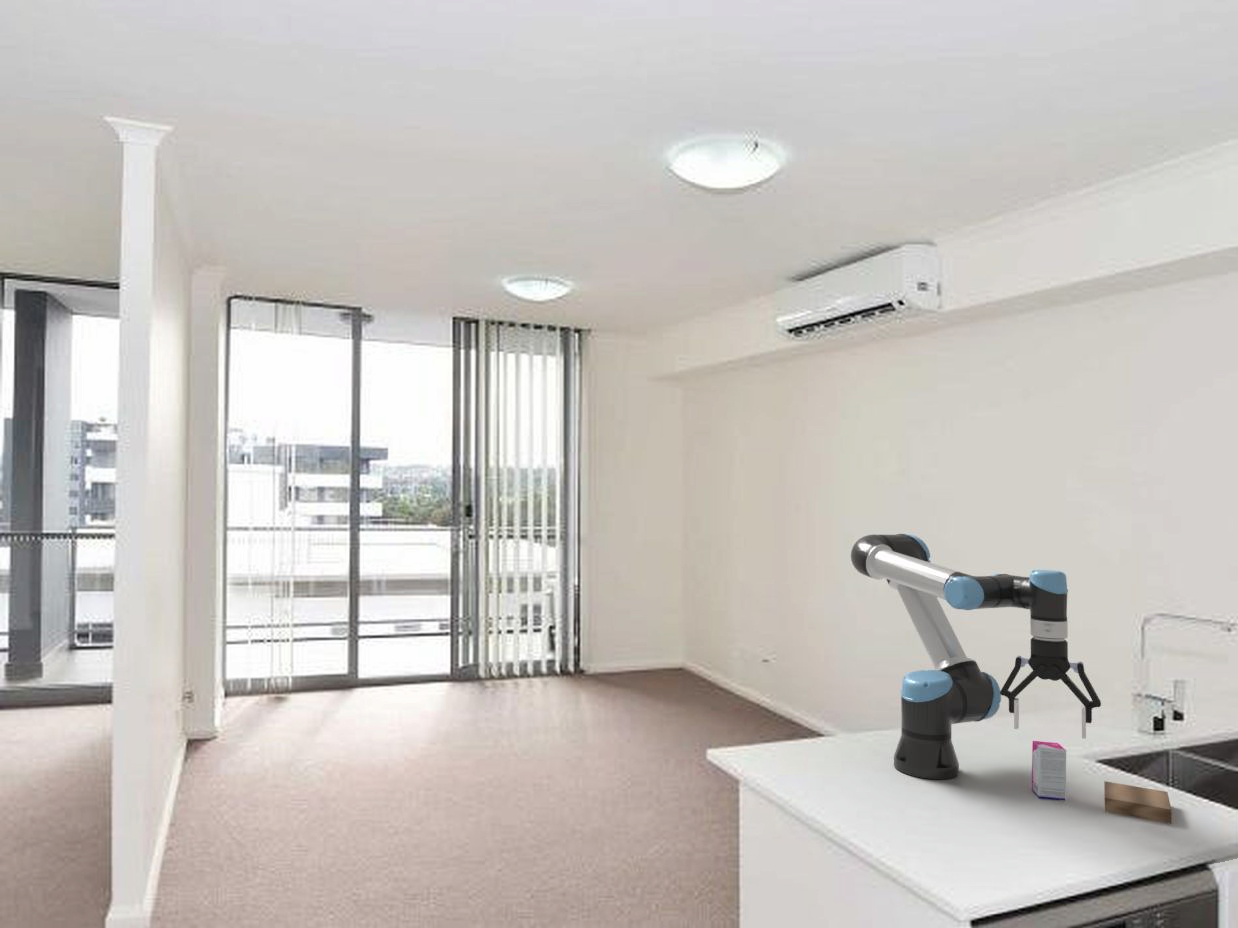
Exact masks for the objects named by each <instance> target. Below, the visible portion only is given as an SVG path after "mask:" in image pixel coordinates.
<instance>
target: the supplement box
mask: <svg viewBox="0 0 1238 928" xmlns="http://www.w3.org/2000/svg"><path fill="white" fill-rule="evenodd" d="M1031 753H1032V754H1031V758H1032V759H1031V787H1030V788H1031V792H1033V794H1034V795H1035V796H1036V797H1037V798H1038V799H1039V800H1050V801H1061V802H1065V801H1066V797H1067V794H1066V791H1067V790H1066V787H1067V786H1066V784H1067V781H1066V780H1067V750H1066V748H1064V747H1063V745H1061V744H1060V743H1057V742H1052V741H1051V742H1050V741H1049V742H1048V741H1041V740H1040V741H1039V740H1038V741H1037V740H1032V749H1031Z"/></svg>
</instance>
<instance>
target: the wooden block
mask: <svg viewBox="0 0 1238 928" xmlns="http://www.w3.org/2000/svg"><path fill="white" fill-rule="evenodd" d="M1103 792H1104V795H1103V796H1104V812H1105V813H1109V814H1115V815H1120V816H1125V817H1132V818H1136V819H1137V818H1138V819H1142V820H1147V821H1152V822H1153V821H1154V822H1158V823H1164V824H1168V825H1172V823H1173V822H1172V820H1173V819H1172V812H1173V811H1172V810H1173V809H1172V806H1171V802H1170V797H1169V793H1168V791H1165V790H1159V789H1152V788H1148V787H1147V788H1146V787H1141V786H1136V785H1128V784H1123V783H1117V782H1111V781H1107V780H1106V781H1105V780H1104V790H1103Z"/></svg>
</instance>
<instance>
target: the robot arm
mask: <svg viewBox="0 0 1238 928" xmlns="http://www.w3.org/2000/svg"><path fill="white" fill-rule="evenodd" d="M850 558H851V559H850V561H851V563H852V566H853V567H854V569H855V570H857V572H858V573H860V574H862V575H863V576H866V577H869V578H872V579H875V580H883V579H885V580H886V581H887V583H888V586H889V588H890V589H894V590H897V592H898V595H899V596H900V598H901V600H902V603H903V605H904V607H905V609H906V611H907V613H908V616H909V617H910V619H911V622H912V624H913V626H914V628H915V629H916V632H917V634H918V636H919V638H920V640H921V643H922V645H923V647H924V648H925V651H926V653H927V655H928V657H929V660H930V661H931V663H932V666H933V668H934V669H928V670H925V669H921V670H915V671H912V672H909V673H906V675H905V676H903V677H902V682H901V688H900V689H901V690H900V697H901V698H900V699H901V702H900V703H901V711H900V712H901V731H900V733H901V735H900V738H899V741H898V742H897V743H898V744H897V746H896V749H895V752H894V755H893V766H894V768H895V769H896V770H897V771H899V772H901V773H904V774H907V775H909V776H912V777H916V778H922V779H929V780H948V779H953V778H957V777H958V776H959V774H960V763H959V761H958V757H957V753H956V751H955V748H954V745H953V740H952V725H955V724H963V723H971V722H975V723H977V722H981V721H984V720H988V719H991V718H992V717H993V716H995V715H996V714H997V712H998V711H999V709H1000V703H1001V701H1002V696H1003V697H1006V698H1007V699H1008V712H1009V713H1010V714H1013V720H1014V721H1013V729H1014V730H1019V725H1020V721H1019V720H1020V713H1019V712H1020V711H1019V709H1020V708H1019V707H1020V703H1019V702H1020V701H1019V697H1017V696H1018V695H1020V693H1021V692H1023V690H1024V689H1025V688H1027V687H1028V685H1030V684H1031V683H1032V682H1033V681H1034V680H1035V679H1036V678H1037V677H1038V678H1039V679H1040V680H1050V681H1053V682H1055V681H1056V682H1057V681H1059V680H1061V681H1062V682H1063V684H1064V685H1066V686H1067V688H1068V689H1069V690H1070V691H1071V692H1072V693H1073V694H1074V695H1075V697H1076V698H1077V699H1078V700H1079V701H1080V702H1081V704H1082V706H1081V738H1082V739H1084V740H1085V739H1087V724H1092V721H1093V718H1092V717H1093V715H1092V713H1093V709H1094V708H1099V707H1100V708H1101V706H1102V701H1101V700H1100V698H1099V696H1098V694H1097V693H1096V691H1095V689H1094V687H1093V684H1092V682H1090V679H1089V677H1088V676H1087V674H1086V672H1085V666H1084V662H1082V661H1078V662H1070V661H1069V659H1068V658H1069V656H1068V655H1069V653H1068V652H1069V651H1068V649H1069V648H1068V647H1069V646H1068V641H1067V639H1068V638H1069V637H1068V632H1069V630H1068V623H1069V622H1068V616H1067V614H1068V592H1069V589H1068V584H1067V575H1066V574H1065V572H1063V571H1060V570H1051V569H1033V570H1031V571H1030V573H1029V576H1021V575H1020V576H1019V575H1012V574H1008V573H993V574H990V575H984V576H982V575H981V576H975V575H972V574H967V573H964V572H961V571H958V570H956V569H955V570H954V569H952V568H948V567H945V566H941V565H939V564H935V563H932V562H931V560H930V558H931V553H930V550H929V547H928V545H927V544H926V543H925V542H924V540H923V539H921V538H919V537H918V536H917V535H912V534H906V533H896V534H869V535H868V534H867V535H865V536H862V537H861V538H859V539H858V540H856V542H855V543H854V544H853V546H852V549H851V551H850ZM938 598H940V599H943V600H945V601H946V602H947V603H948V605H950V606H951V608H953V609H955V610H964V611H972V610H980V609H996V608H997V609H998V608H1000V609H1002V608H1018V609H1024V610H1029V614H1030V620H1029V621H1030V635H1031V636H1032V637H1031V638H1030V657H1029V658H1026V657H1022V656H1021V655H1017V656H1016V657H1015V663H1014V667H1013V669H1012V670H1011V671H1010V672H1011V673H1009V676H1008V677H1007V678H1006V681H1005V683H1004V685H1003V686H1002V688H1000V685H999V684H998V682H997V679H996V678H995V677H994V676H992V675H991V674H989V673H987V672H985V671H982V670H980V667H979V664H978V663H977V661H976V660H975V659H973V658H970V657H967V655H966V653H965V650H964V649H963V646H962V645H961V643H960V641H959V639H958V637H957V635H956V633H955V631H954V629H953V627H952V625H951V622H950V621H949V619H948V617H947V615H946V613H945V611H944V609H943V607H942V606H941V603H940V601H939V599H938ZM1026 665H1029V667H1030V668H1031V670H1032V671H1031V672H1030V673H1029V674H1028V675H1027V676H1025V678H1024V679H1023V680H1022V681H1021V682H1020V683H1019V684H1018V685H1017V686H1016V687H1015V688H1014V689H1013V690H1011V691H1010V690H1009V689H1010V687H1011V686H1012V684H1013V682H1014V680H1015V679H1016V677H1017V675H1018V674H1019V672H1020V671H1021V668H1023V667H1025V666H1026ZM1070 669H1072V670H1073V671H1074V673H1076V674H1077V675H1078V677H1079V679H1080V681H1081V682H1082V685H1083V686H1084V687H1085V690H1086V692H1087V693H1088V695H1089V697H1090V699H1091V701H1090V700H1089V698H1088V697H1087V696H1086V695H1085V694H1084V693H1083V691H1082V690H1080V688H1079V687H1078V686H1077V685H1076V683H1075V682H1074V681H1073V680H1072V679H1071V678H1070V677H1069V675H1068V674H1067V673H1068V671H1069V670H1070Z"/></svg>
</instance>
